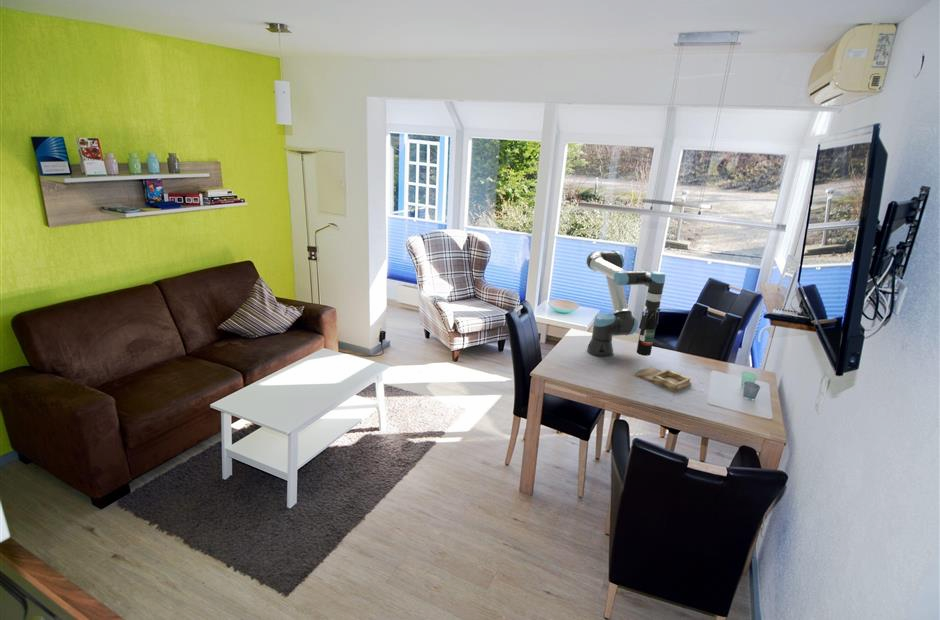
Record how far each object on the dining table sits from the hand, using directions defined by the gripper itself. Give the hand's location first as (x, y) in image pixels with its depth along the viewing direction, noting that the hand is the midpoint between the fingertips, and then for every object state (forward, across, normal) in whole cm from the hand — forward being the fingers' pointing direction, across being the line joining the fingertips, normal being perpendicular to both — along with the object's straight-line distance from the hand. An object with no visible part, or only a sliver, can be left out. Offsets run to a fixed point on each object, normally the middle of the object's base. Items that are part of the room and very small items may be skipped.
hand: (646, 338), depth 282 cm
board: (+17, -5, -17) cm, 24 cm away
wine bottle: (+9, 0, 0) cm, 9 cm away
